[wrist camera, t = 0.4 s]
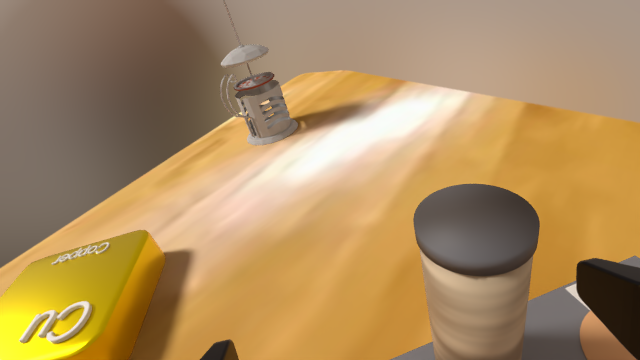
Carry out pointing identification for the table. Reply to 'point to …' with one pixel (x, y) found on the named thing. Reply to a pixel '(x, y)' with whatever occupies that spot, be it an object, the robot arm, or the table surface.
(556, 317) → the subfloor panel
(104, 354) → the element tile
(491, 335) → the beige cylindrical canister
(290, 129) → the french press
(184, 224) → the table surface
